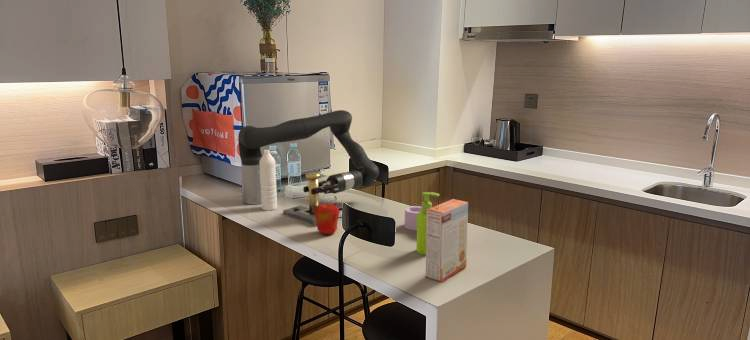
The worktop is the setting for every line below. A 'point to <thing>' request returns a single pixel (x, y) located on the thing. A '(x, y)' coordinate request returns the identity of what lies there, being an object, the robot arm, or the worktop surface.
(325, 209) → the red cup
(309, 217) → the outer chain end
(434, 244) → the cracker box
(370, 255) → the worktop surface
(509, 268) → the worktop surface
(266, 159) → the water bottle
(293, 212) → the inner chain end
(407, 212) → the purple block with hole
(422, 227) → the soap dispenser
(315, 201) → the pin
